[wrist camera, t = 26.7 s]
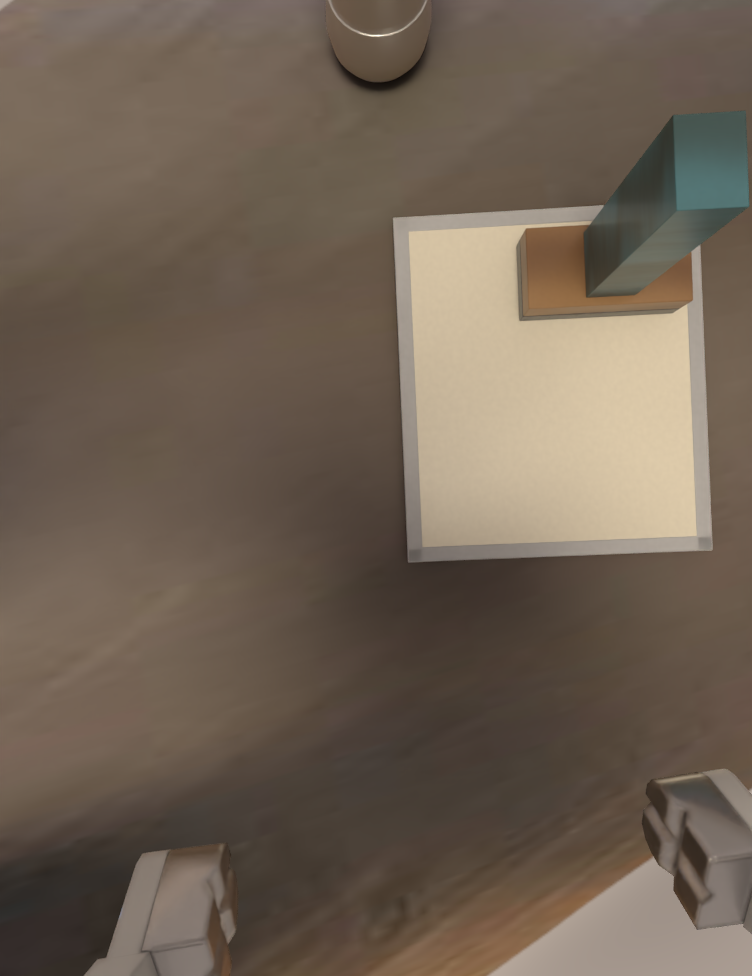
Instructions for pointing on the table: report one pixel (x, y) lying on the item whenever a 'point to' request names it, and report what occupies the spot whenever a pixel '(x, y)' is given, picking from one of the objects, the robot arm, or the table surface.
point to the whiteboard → (541, 406)
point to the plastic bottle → (378, 35)
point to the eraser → (641, 228)
